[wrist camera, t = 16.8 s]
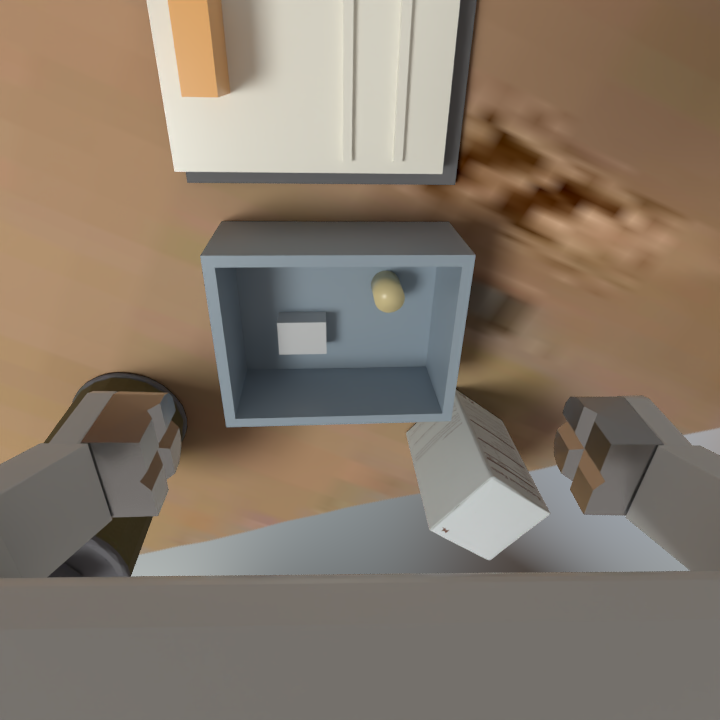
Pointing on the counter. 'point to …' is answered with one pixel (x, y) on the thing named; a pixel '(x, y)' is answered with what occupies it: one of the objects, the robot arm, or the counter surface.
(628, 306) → the counter surface
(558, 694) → the robot arm
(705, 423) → the counter surface
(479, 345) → the counter surface
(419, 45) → the lid
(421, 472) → the supplement box
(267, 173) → the mat
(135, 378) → the canister
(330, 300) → the grey storage box
